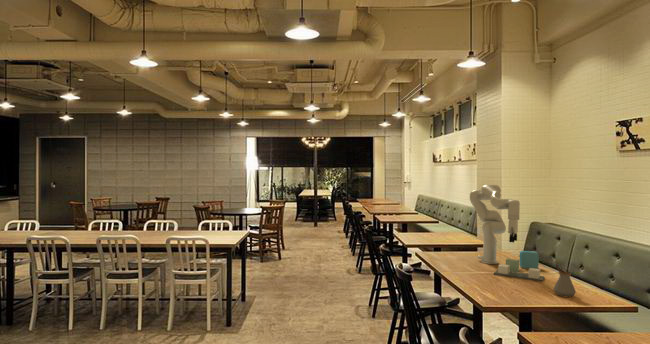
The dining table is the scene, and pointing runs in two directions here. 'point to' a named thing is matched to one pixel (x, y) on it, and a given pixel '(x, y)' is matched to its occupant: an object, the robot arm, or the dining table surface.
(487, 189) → the robot arm
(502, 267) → the mounted modules
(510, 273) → the rail plate
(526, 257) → the data package
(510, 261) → the module block
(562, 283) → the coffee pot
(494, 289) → the dining table surface
